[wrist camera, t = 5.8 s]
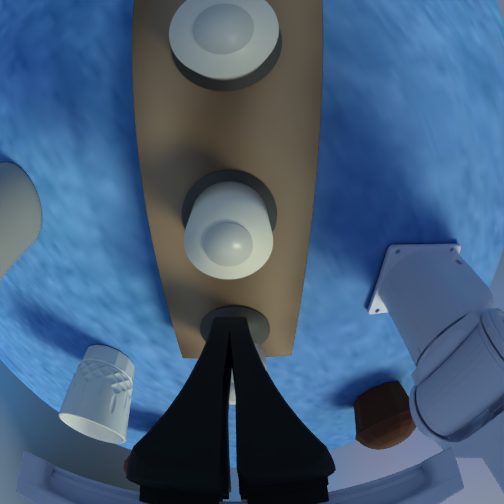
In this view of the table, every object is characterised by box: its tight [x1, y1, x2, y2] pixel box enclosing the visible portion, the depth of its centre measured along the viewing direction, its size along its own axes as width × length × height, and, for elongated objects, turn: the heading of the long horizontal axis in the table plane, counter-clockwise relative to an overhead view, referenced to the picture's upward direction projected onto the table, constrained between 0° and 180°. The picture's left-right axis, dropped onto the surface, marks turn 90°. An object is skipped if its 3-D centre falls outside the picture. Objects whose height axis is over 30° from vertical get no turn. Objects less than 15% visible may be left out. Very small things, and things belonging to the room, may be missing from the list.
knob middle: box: [184, 181, 273, 279], centre depth 15 cm, size 4×4×3 cm
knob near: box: [169, 0, 279, 80], centre depth 9 cm, size 4×4×3 cm
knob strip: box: [132, 0, 323, 358], centre depth 17 cm, size 10×28×3 cm, turn 0°
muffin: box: [354, 381, 416, 450], centre depth 34 cm, size 12×11×10 cm
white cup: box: [59, 344, 135, 444], centre depth 25 cm, size 8×8×10 cm
